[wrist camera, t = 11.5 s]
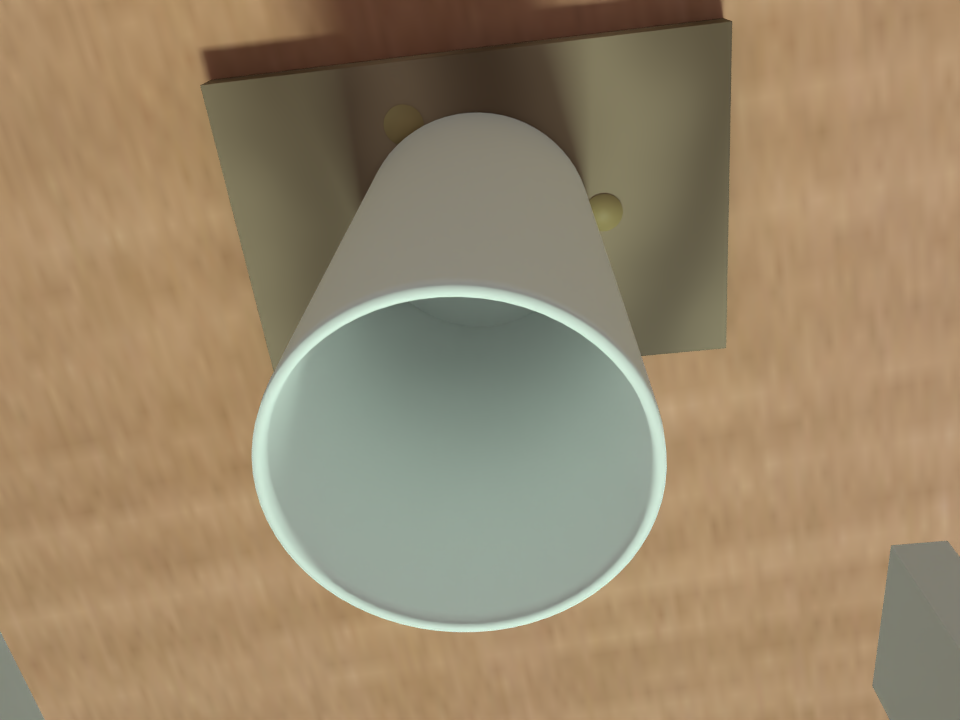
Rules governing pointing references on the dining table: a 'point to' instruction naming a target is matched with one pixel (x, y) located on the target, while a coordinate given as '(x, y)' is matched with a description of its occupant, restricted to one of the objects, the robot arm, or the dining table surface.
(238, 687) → the dining table surface
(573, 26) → the dining table surface
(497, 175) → the cup
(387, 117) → the board
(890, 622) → the robot arm
